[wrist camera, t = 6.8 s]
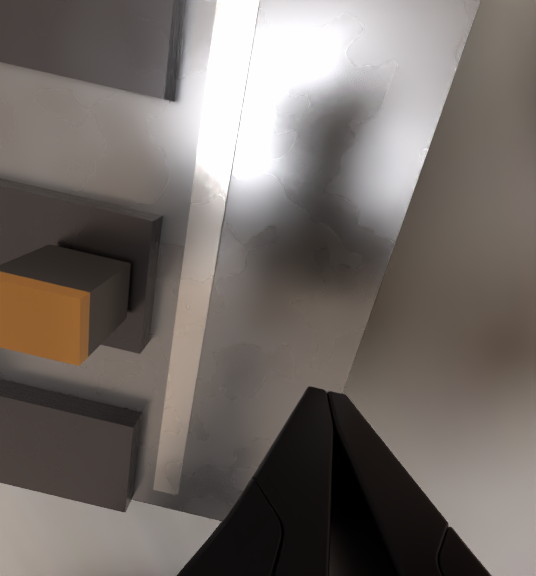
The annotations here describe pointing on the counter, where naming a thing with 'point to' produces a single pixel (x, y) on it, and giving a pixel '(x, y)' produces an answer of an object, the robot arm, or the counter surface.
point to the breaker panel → (206, 220)
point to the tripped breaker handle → (61, 302)
